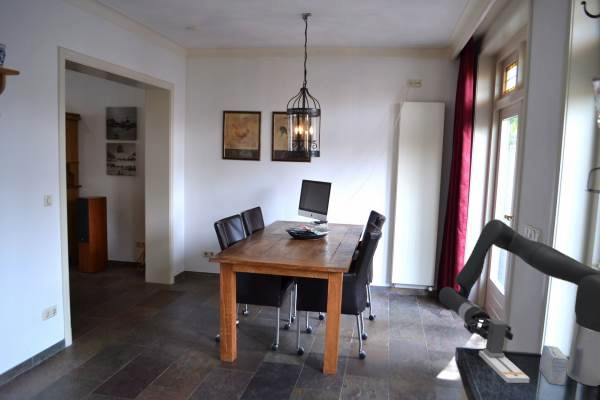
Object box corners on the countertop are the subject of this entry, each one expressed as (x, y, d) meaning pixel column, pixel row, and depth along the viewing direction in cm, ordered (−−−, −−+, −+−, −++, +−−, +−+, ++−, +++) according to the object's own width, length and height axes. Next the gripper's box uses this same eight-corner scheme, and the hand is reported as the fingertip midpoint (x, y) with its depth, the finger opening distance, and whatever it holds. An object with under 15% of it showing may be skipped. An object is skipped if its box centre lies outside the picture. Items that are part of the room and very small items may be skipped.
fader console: (498, 355, 140) (498, 350, 140) (528, 382, 124) (529, 377, 124) (478, 354, 139) (479, 350, 139) (506, 382, 124) (507, 377, 123)
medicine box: (564, 386, 124) (569, 359, 123) (548, 383, 125) (552, 356, 124) (553, 372, 132) (558, 346, 131) (538, 369, 133) (543, 344, 131)
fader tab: (497, 350, 139) (501, 319, 138) (504, 357, 135) (509, 325, 134) (483, 350, 139) (487, 319, 137) (489, 356, 135) (494, 324, 133)
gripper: (456, 305, 149) (480, 325, 133) (493, 306, 151) (521, 326, 135) (453, 325, 150) (477, 347, 134) (490, 326, 152) (518, 348, 136)
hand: (499, 337), depth 134 cm, fingers open, 8 cm apart
